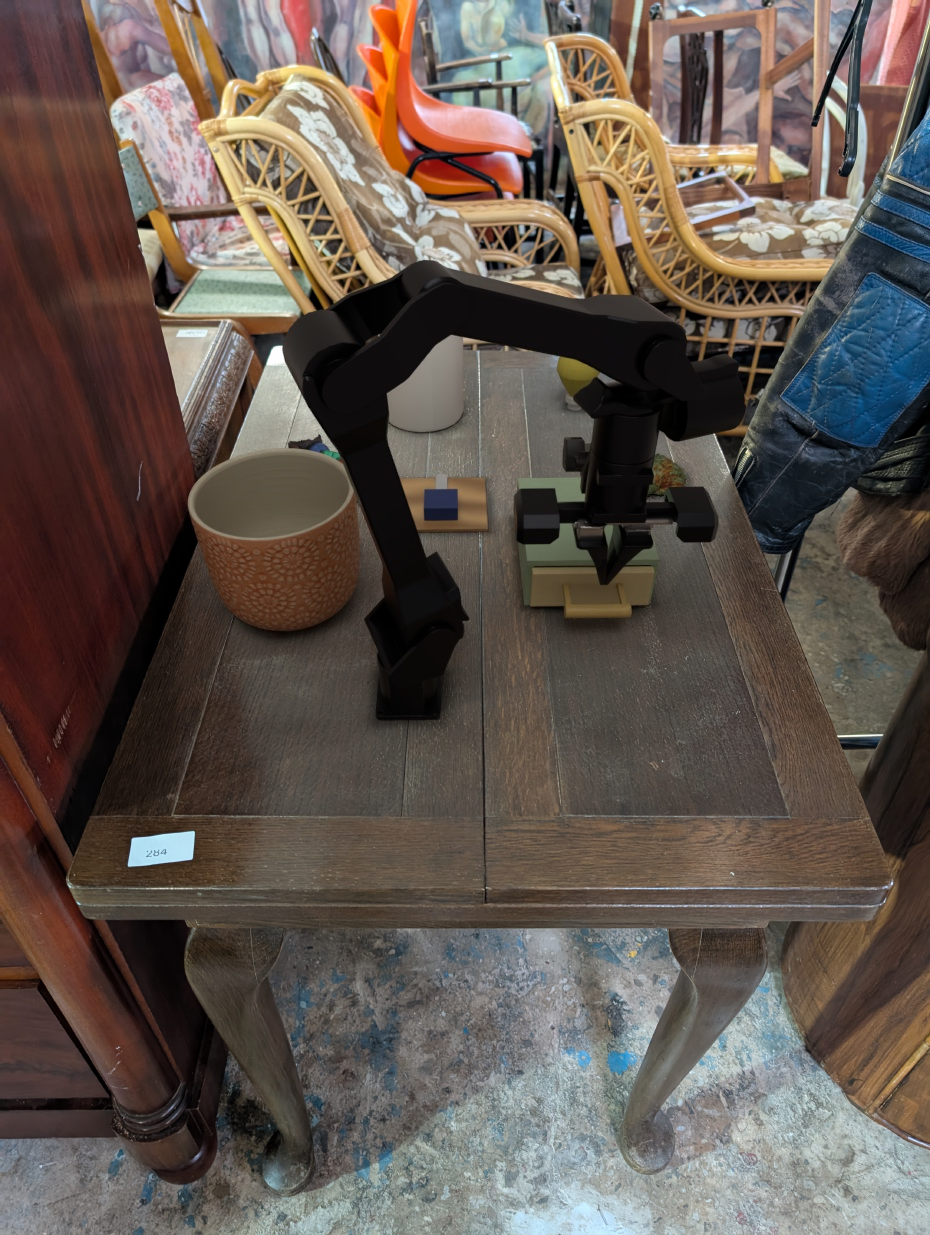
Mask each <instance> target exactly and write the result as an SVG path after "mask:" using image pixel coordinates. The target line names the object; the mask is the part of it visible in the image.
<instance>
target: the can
mask: <svg viewBox="0 0 930 1235" xmlns="http://www.w3.org/2000/svg"><path fill="white" fill-rule="evenodd" d="M379 335H380V334H379ZM379 335H377V337H378V336H379ZM464 398H465V396H464V337H459V336H454V335H450V336H449V337H447V338H446V339H444V340H443V341H441V342H440V343H438V344H437V345H435V346H434V348H433V349H432V350H431V351H430V353H429V354H428V355H427V356H426V358H425V359H424V360H423V361H422V362H421V364H420V365H419V366H418V367H417V369H416V370H415V371H414V372H413V374H412V375H411V376H410V377H409V378H408V379H407V380H406V381H405V382H403V383H402V384H400V385H399V386H397V387H396V388H394V389H393V390H391V391H390V392H388V393H387V399H388V407H389V423H390V424H391V425H392V426H394V427H396V428H398V429H400V430H404V431H407V432H415V433H428V432H430V433H431V432H436V431H439V430H440V431H441V430H444V429H446V428H449V427H451V426H453V425H455V424H456V423H457V422H458V421H460V419H461V417H462V415H463V412H464V408H465V407H464V405H465V404H464V402H465V401H464Z"/></svg>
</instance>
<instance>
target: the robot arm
mask: <svg viewBox="0 0 930 1235" xmlns="http://www.w3.org/2000/svg"><path fill="white" fill-rule="evenodd" d="M379 334H380V335H379ZM378 335H379V336H378ZM450 335H454V336H459V337H463V339H469V340H475V341H479V342H483V343H490V344H494V345H500V346H505V347H510V348H514V349H520V350H525V351H528V352H529V351H530V352H533V353H534V352H536V353H540V354H545V355H548V356H549V355H550V356H554V357H558V358H559V357H564V358H569V359H574V360H577V361H579V362H581V363H584V364H586V365H588V366H590V367H591V368H593V369H595V370H597V371H599V372H600V374H602V375H604V376H605V377H607V378H608V379H611V380H613V381H611V382H604V381H603V380H602V379H600V378H599V376H598V377H594V378H593V380H592V381H591V382H590V383H589V384H588V385H587V386H585V387H583V388H581V389H580V390H579V391H578V392H577V393H576V394H575V395H574V396H573V400H574V402H575V403H576V404H578V405H579V406H580V407H581V408H582V409H581V410H582V411H583V412H585V413H586V415H587V416H589V417H590V419H593V423H592V424H593V425H592V434H591V442H589V443H587V442H586V441H585V439H584V438H583V437H582V436H564V438H563V443H562V444H563V445H562V460H561V461H562V463H561V464H562V468H563V470H564V472H565V473H579V476H580V478H581V482H580V489H581V494H585V501H574V502H557V496H556V490H555V488H520V489H519V490H518V492H517V491H516V492H515V493H514V495H513V510H512V511H513V519H514V530H515V540H516V542H517V543H518V542H519V543H521V544H523V545H533V544H551V543H553V542H554V541H555V540H556V539H558V538H559V533H560V524H567V523H572V527H573V533H574V538H575V543H576V547H577V548H578V549H580V550H587V551H588V553H589V555H590V557H591V558H592V560H593V562H594V564H595V568H596V572H597V575H598V579H599V583H600V585H608V584H609V583H610V582H611V581H612V580H613V579H614V578H615V576H616V575H617V574H618V573H619V572H620V571H621V570H622V568H623V567H624V566H625V565H626V564H627V563H628V562H629V561H631V560H632V559H633V558H634V557H635V556H636V555H637V554H639V553H640V552H641V551H642V550H644V549H651V548H652V547H653V543H655V541H654V542H653V540H654V538H653V539H652V537H653V534H652V529H653V528H654V526H655V525H656V526H657V525H659V526H660V525H674V524H675V523H676V527H675V532H674V533H675V536H676V537H677V538H678V539H679V540H680V541H681V542H682V543H683V544H693V543H694V544H695V543H698V544H699V543H700V544H702V543H712V542H713V541H715V539H716V537H717V534H718V533H717V532H718V529H719V520H720V519H719V513H718V512H717V510H716V507H715V504H714V502H713V500H712V497H711V495H710V493H709V491H708V490H707V489H706V488H705V486H699V485H698V486H684V487H668V488H667V489H665V493H664V495H663V498H662V499H663V501H649V499H648V496H649V495H648V491H649V486H650V485H653V479H654V473H653V470H652V469H653V463H654V458H655V454H656V453H657V452H656V451H657V446H658V440H659V436H660V432H661V433H662V434H664V435H665V437H666V438H667V439H668V440H670V441H672V442H674V443H675V442H676V443H679V442H685V441H688V440H692V439H697V438H702V437H706V436H711V435H715V434H721V433H725V432H728V431H729V432H730V431H732V430H735V429H737V428H738V427H739V426H740V425H741V423H742V422H743V420H744V418H745V415H746V412H747V405H746V396H745V390H744V386H743V383H742V381H741V379H740V377H739V375H738V373H739V369H740V365H741V364H740V362H739V361H738V360H736V359H734V358H733V357H732V356H731V355H729V354H727V353H722V354H717V355H714V356H711V357H708V358H706V359H702V360H701V359H700V360H695V361H690V359H689V356H688V354H687V350H688V338H687V330H686V329H685V328H684V326H683V325H682V324H680V323H679V322H677V321H676V320H674V319H673V318H671V317H669V316H668V315H667V314H665V313H663V312H662V311H661V310H659V309H658V308H656V307H655V306H653V304H651V303H649V302H647V301H646V300H645V299H643V298H641V297H640V296H637V295H634V294H615V293H614V294H612V293H599V294H596V295H593V296H590V297H585V298H584V297H583V298H582V297H581V298H580V297H569V296H565V295H561V294H557V293H553V292H548V291H545V290H541V289H540V290H539V289H536V288H532V287H528V286H524V285H520V284H515V283H512V282H508V281H503V280H499V279H497V278H496V279H495V278H492V277H491V278H490V277H489V276H484V275H479V274H475V273H470V272H467V271H463V270H460V269H456V268H455V269H454V268H452V267H451V268H450V267H447V266H445V265H443V264H441V263H440V262H439V261H436V260H433V259H422V260H417V261H415V262H413V263H410V264H409V265H407V266H406V267H405V268H403V269H401V270H400V271H398V272H397V273H396V274H394V275H392V276H391V277H390V278H387V279H384V280H381V281H378V282H376V283H374V284H370V285H367V286H365V287H363V288H360V289H357V290H354V291H351V292H350V293H348V294H346V295H344V296H343V297H341V298H340V299H338V300H337V301H335V302H334V303H332V304H331V305H330V306H328V307H327V308H325V309H317V310H312V311H308V312H307V313H305V314H303V315H302V316H300V317H297V319H296V320H295V321H294V322H293V324H292V325H290V327H289V328H288V330H287V332H286V335H285V337H284V338H283V340H282V342H281V343H282V344H281V351H282V355H283V360H284V363H285V365H286V367H287V369H288V371H289V373H290V375H291V376H292V379H293V381H294V383H295V384H296V386H297V388H298V391H299V392H300V394H301V396H302V399H303V400H304V402H305V404H306V406H307V408H308V409H309V411H310V412H311V414H312V415H313V417H314V418H315V421H317V423H318V425H319V426H320V427H321V429H322V431H323V433H324V434H325V436H326V437H327V439H328V440H329V442H331V444H332V445H333V447H334V448H335V449H336V452H338V453H339V455H340V458H341V460H342V463H343V465H344V468H345V470H346V473H347V475H348V478H349V480H350V483H351V485H352V488H353V491H354V493H355V496H356V500H357V504H358V506H359V508H360V510H361V513H362V516H363V518H364V520H365V523H366V526H367V529H368V531H369V534H370V536H371V538H372V542H373V544H374V546H375V548H376V551H377V553H378V556H379V559H380V562H381V565H382V573H381V586H382V592H383V597H382V598H381V599H380V600H379V602H378V603H377V604H376V605H375V606H374V607H373V608H372V609H371V610H370V611H369V612H368V614H367V615H366V616H365V617H364V619H363V621H364V623H365V625H366V628H367V631H368V633H369V635H370V637H371V640H372V642H373V644H374V646H375V649H376V650H377V651H376V652H377V653H376V660H377V669H378V680H377V681H378V682H377V694H376V703H375V718H376V719H377V720H438V719H440V718H441V716H442V677H443V676H444V675H445V672H446V669H447V667H448V664H449V662H450V660H451V657H452V655H453V652H454V650H455V648H456V646H457V644H458V643H459V641H460V640H463V638H464V637H465V632H466V631H465V624H464V622H468V621H470V620H471V618H470V616H469V615H468V613H467V611H466V609H465V608H464V606H463V604H462V603H463V602H462V595H461V590H460V587H459V586H458V584H457V582H456V580H455V579H454V577H453V575H452V574H451V572H450V570H449V569H448V567H447V565H446V563H445V562H444V560H443V559H442V557H441V555H440V554H439V552H438V551H435V552H433V553H431V554H429V555H428V556H427V555H426V551H425V548H424V545H423V543H422V540H421V537H420V534H419V532H418V531H417V528H416V525H415V522H414V519H413V516H412V513H411V510H410V507H409V504H408V501H407V498H406V495H405V492H404V489H403V486H402V483H401V480H400V478H401V476H400V474H399V472H398V468H397V466H396V463H395V459H394V457H393V454H392V451H391V448H390V445H389V438H388V435H389V434H388V432H389V423H390V422H389V407H388V399H387V393H388V392H390V391H391V390H393V389H394V388H396V387H397V386H399V385H400V384H402V383H403V382H405V381H406V380H407V379H408V378H409V377H410V376H411V375H412V374H413V372H414V371H415V370H416V369H417V367H418V366H419V365H420V364H421V362H422V361H423V360H424V359H425V358H426V356H427V355H428V354H429V353H430V351H431V350H432V349H433V348H434V346H435V345H437V344H438V343H440V342H441V341H443V340H444V339H446V338H447V337H449V336H450ZM373 337H375V338H374V339H373V340H371V341H370V342H368V341H369V340H370V339H372V338H373ZM367 342H368V343H367ZM606 525H613V531H612V536H611V540H610V544H609V548H608V544H607V540H606V535H605V531H604V528H605V526H606ZM651 534H652V535H651Z"/></svg>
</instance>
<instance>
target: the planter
mask: <svg viewBox="0 0 930 1235" xmlns="http://www.w3.org/2000/svg"><path fill="white" fill-rule="evenodd" d="M187 511H188V512H189V517H190V521H191V524H192V526H193V531H194V533H195V537H196V539H197V542H198V545H199V549H200V551H201V554H202V558H203V560H204V564H205V567H206V569H207V572H208V575H209V577H210V579H211V582H212V585H213V587H214V589H215V591H216V593H217V595H218V597H219V599H220V600H221V602H222V603H223V605H224V606H225V607H226V608H227V610H228V611H229V612H230V613H231V614H232V615H233V616H235V617H236V618H238V619H239V620H241V621H242V622H244V623H245V624H248V625H251V626H253V627H256V628H258V629H262V630H267V631H273V632H292V631H300V630H304V629H308V628H312V627H313V626H317V625H319V624H321V623H323V622H325V621H327V620H328V619H330V618H331V617H333V616H334V615H336V614H337V613H338V612H339V611H341V609H343V608H344V607H345V606H346V604H347V603H348V602H349V601H350V599H351V598H352V596H353V594H354V592H355V591H356V588H357V585H358V582H359V578H360V571H361V569H360V568H361V538H360V527H359V515H358V501H357V498H356V496H355V493H354V491H353V488H352V485H351V483H350V480H349V478H348V475H347V473H346V470H345V468H344V465H343V464H342V463H340V462H339V461H338V460H336V459H334V458H332V457H330V456H328V455H325V454H322V453H319V452H315V451H310V450H304V449H293V448H288V447H287V448H286V447H284V448H283V447H282V448H269V449H268V448H267V449H261V450H255V451H251V452H247V453H244V454H240V455H238V456H235V457H232V458H229V459H227V460H225V461H223V462H221V463H219V464H217V465H215V466H213V467H212V468H211V469H209V470H207V471H206V472H205V473H204V474H203V475H202V476H200V477H199V478H198V480H197V481H196V482H195V483H194V484H193V486H192V488H191V489H190V492H189V495H188V498H187Z"/></svg>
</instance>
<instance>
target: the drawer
mask: <svg viewBox="0 0 930 1235" xmlns="http://www.w3.org/2000/svg"><path fill="white" fill-rule="evenodd" d="M654 574H655V572H654V568H653V566H643V565H625V566H624V567H623V568H622V570H621V571H620V572H619V573H618V574H617V575H616V576H615V578H614V579H613V580H612V581H611V582H610V583H609V584H608V585H600V583H599V579H598V575H597V572H596V568H595V565H593V566H534V567H533V568H532V577H531V591H530V605H529V606H530V607H563V616H564V619H619V618H621V619H623V618H626V619H627V618H628V619H629V618H631V617H632V611H633V610H632V606H649V604H648V603H649V599H650V594H651V589H652V584H653V579H654Z"/></svg>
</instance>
